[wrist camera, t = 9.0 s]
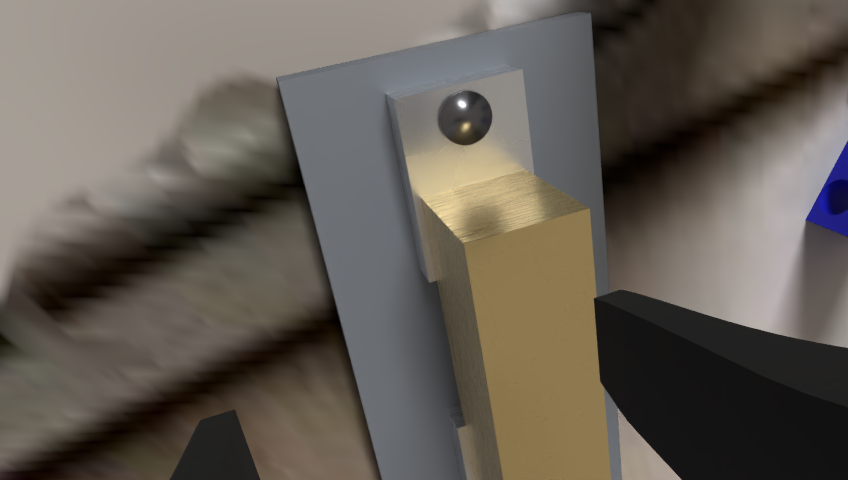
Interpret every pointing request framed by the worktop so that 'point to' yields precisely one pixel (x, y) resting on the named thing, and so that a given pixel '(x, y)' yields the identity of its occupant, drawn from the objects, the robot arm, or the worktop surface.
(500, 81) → the mounting blocks
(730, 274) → the worktop surface
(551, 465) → the link bar
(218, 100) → the worktop surface
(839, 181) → the cable clip
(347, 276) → the slate board
